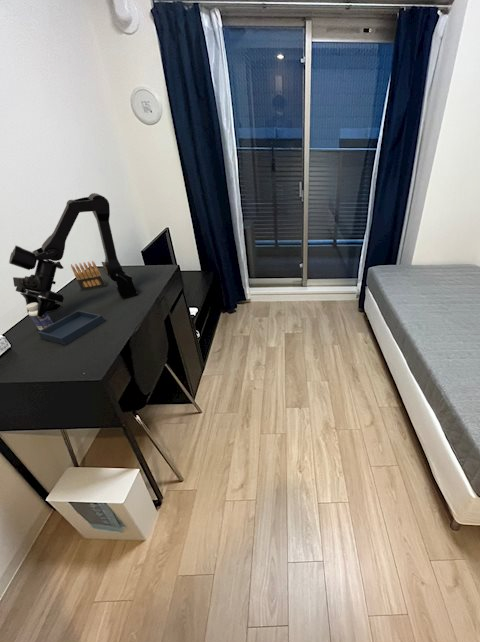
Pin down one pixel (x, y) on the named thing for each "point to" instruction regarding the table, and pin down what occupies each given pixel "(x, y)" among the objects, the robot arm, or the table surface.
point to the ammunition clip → (88, 277)
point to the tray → (71, 327)
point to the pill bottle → (39, 321)
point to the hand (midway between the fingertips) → (34, 315)
